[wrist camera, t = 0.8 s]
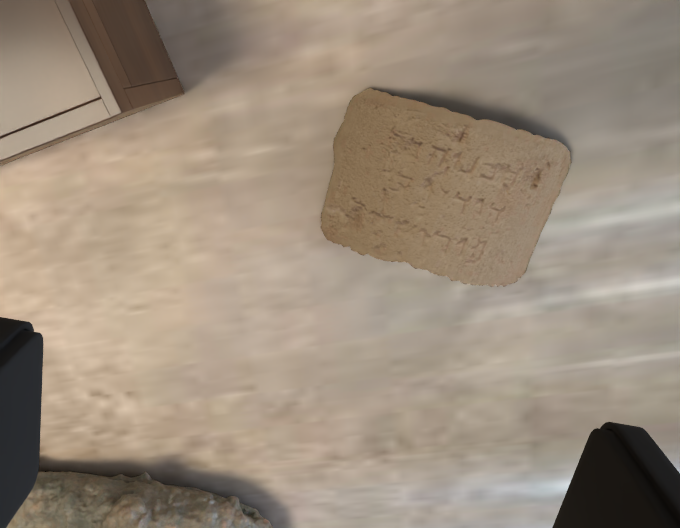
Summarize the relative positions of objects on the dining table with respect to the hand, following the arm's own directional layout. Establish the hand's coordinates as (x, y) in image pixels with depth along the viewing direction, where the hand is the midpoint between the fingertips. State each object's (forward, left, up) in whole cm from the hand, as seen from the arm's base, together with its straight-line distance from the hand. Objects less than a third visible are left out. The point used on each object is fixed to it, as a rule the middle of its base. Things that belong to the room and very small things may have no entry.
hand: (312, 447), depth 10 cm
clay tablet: (+1, +7, -30) cm, 31 cm away
